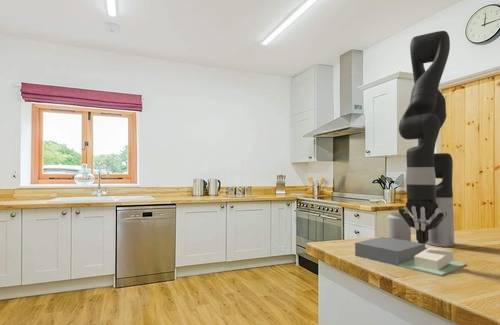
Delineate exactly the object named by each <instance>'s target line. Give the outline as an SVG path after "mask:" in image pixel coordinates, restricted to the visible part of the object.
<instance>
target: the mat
mask: <svg viewBox="0 0 500 325" xmlns="http://www.w3.org/2000/svg"><path fill="white" fill-rule="evenodd" d="M465 266H467V263H465V262H460V261H456V260H453V261H451V262H450V263H448V264H447V265H445V266H444V267H442V268H441V269H439V270H434V269H429V268H425V267H421V266H417V265H415V261H414V259H413V260H410V261H407V262H404V263H401V264H398V266H397V267H402V268H406V269H409V270H414V271H417V272H423V273H427V274H430V275H431V274H432V275H435V276H438V277H443V276H445V275H447V274H449V273H452V272H454V271H456V270H459V269H462V268H463V267H465Z"/></svg>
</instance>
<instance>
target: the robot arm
mask: <svg viewBox="0 0 500 325" xmlns="http://www.w3.org/2000/svg"><path fill="white" fill-rule="evenodd" d="M409 45H410V46H409V52H410V54H409V55H410V59H411V60H410V61H411V68H412V75H413V76H412V77H413V83H414V85H413V87H412V89H411V94H410V100H409V104H408V106H407V107H406V110H404V113H403V114H402V117H401V119H400V121H399V124H398V133H399V135H400V137H402V138H403V139H404V140H411V141H412V140H417V142H418V143H417V146H414V147H413V146H412V147H410V148H407V150H406V156H405V157H406V158H405V159H406V171H405V172H406V173H405V183H406V184H405V187H406V189H405V190H406V202H405V206H403V208H399V209H398V212H399V213H400V214H401V216H402V217H403V218H404V220H405V221H406V222H407V224H408V225H409V226H410V227H411V228H413V229H415V239H416V242H418V243H421V244H425V245H426V244H427V245H430V246H436V247H443V248H445V247H447V248H448V247H454V246H455V243H456V242H455V221H454V219H455V217H454V216H455V215H454V195H453V194H454V190H453V171H454V170H453V165H454V164H453V162H454V161H453V157H452V155H451V153H448V152H444V153H441V152H440V153H435V149H436V143H437V140H438V137H439V134H440V130H441V129H442V127H443V125H444V124H445V121H446V118H447V103H446V98H445V96H444V95H443V93H442V92H441V91H440V90H439V86H440V82H441V80H442V76H443V75H444V71H445V68H446V64H447V61H448V58H449V54H450V49H451V48H450V47H451V40H450V36H449V33H448V32H447V31H446V30H439V31H438V30H437V31H433V32H427V33H425V34H420V35H416V36H413V37H411V40H410V44H409ZM428 63H431V64H430V65H429V67H428V68H427V69H425V68H426V67H425V65H424V64H428ZM436 179H442V180H441V182H439V183H437V182H436V181H437V180H436Z"/></svg>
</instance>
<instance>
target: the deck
mask: <svg viewBox="0 0 500 325" xmlns="http://www.w3.org/2000/svg"><path fill="white" fill-rule="evenodd" d="M424 250H426V244H421V243H418V241H412V240H411V241H406V240H400V239H394V238H388V236H379V237H376V238H375V237H374V238H371V239H365V240H360V241H356V242H354V253H355V254H354V255H355V256H357V257H360V258H363V259H369V260H373V261H376V262H380V263H386V264H389V265H394V266H397V267H399V266H398V264H401V263H404V262H407V261H410V260H413V259H414V256H415V255H417V254H419V253H420V252H422V251H424Z"/></svg>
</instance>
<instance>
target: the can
mask: <svg viewBox="0 0 500 325" xmlns="http://www.w3.org/2000/svg"><path fill="white" fill-rule="evenodd" d="M386 224H387V225H386V227H387V228H386V229H387V237H388V238H394V239H400V240H406V241H412V232H411V231H412V230H411V229H412V227H410V226H409V225H408V224H407V222H406V221H405V220H404V218H403V217H402V216H401V214H400V213H399V211H393V212H391V211H390V212H388V215H387V216H386Z"/></svg>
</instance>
